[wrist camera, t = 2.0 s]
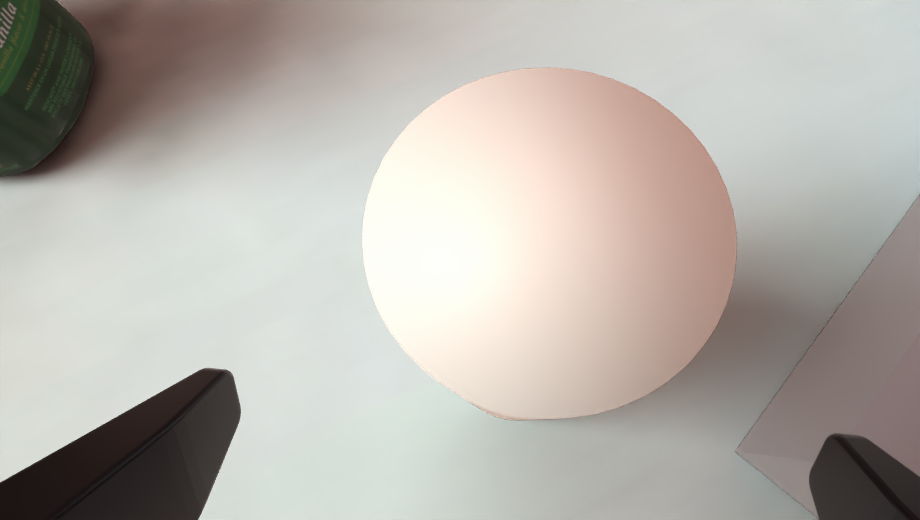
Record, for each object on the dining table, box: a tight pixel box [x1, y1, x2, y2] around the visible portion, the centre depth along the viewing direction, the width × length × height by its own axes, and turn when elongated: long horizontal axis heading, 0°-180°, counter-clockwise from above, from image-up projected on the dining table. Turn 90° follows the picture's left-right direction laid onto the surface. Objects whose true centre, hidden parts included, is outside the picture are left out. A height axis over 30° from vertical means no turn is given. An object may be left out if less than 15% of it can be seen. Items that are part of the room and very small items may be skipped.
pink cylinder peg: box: [362, 68, 737, 420], centre depth 12 cm, size 4×4×12 cm
